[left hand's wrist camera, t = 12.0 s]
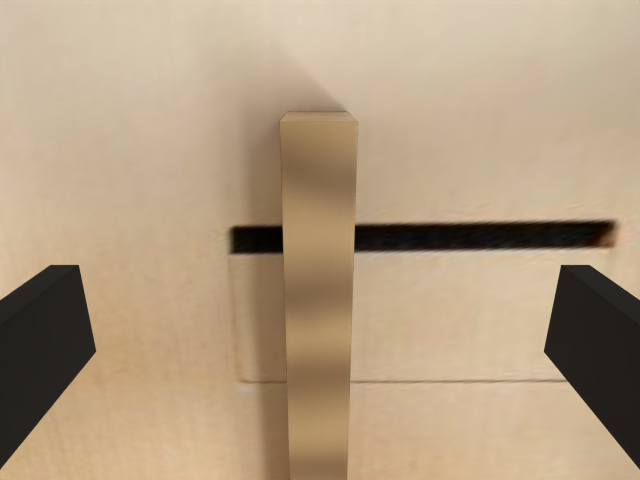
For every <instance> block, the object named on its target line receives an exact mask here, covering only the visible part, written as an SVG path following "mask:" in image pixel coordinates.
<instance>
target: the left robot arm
mask: <svg viewBox="0 0 640 480" xmlns="http://www.w3.org/2000/svg"><path fill="white" fill-rule="evenodd" d="M95 352H96V348H95V343H94V338H93V333H92V328H91V323H90V318H89V313H88V308H87V304H86V299H85V294H84V289H83V284H82V279H81V274H80V269H79V265H50V266H48V267H47V268H46V269H44V270H43V271H41V272H40V273H38V274H37V275H36V276H34V277H33V278H31V279H30V280H28V281H27V282H26V283H24V284H23V285H21V286H20V287H18V288H17V289H16V290H14V291H13V292H11V293H10V294H9V295H7V296H6V297H4V298H3V299H1V300H0V469H1V468H2V467H3V465H4V464H5V463H6V462H7V461H8V459H9V458H10V457H11V456H12V454H13V453H14V452H15V451H16V449H17V448H18V447H19V446H20V445H21V443H22V442H23V441H24V440H25V438H26V437H27V436H28V435H29V434H30V432H31V431H32V430H33V429H34V427H35V426H36V425H37V424H38V422H39V421H40V420H41V419H42V418H43V416H44V415H45V414H46V413H47V411H48V410H49V409H50V408H51V406H52V405H53V404H54V403H55V402H56V400H57V399H58V398H59V397H60V395H61V394H62V393H63V392H64V390H65V389H66V388H67V387H68V386H69V384H70V383H71V382H72V381H73V379H74V378H75V377H76V376H77V374H78V373H79V372H80V371H81V370H82V368H83V367H84V366H85V365H86V363H87V362H88V361H89V360H90V359H91V357H92V356H93V355H94V354H95ZM544 352H545V354H546V355H547V356H548V357H549V359H550V360H551V361H552V362H553V363H554V365H555V366H556V367H557V368H558V370H559V371H560V372H561V373H562V374H563V376H564V377H565V378H566V379H567V381H568V382H569V383H570V384H571V386H572V387H573V388H574V389H575V390H576V392H577V393H578V394H579V395H580V397H581V398H582V399H583V400H584V402H585V403H586V404H587V405H588V406H589V408H590V409H591V410H592V411H593V413H594V414H595V415H596V416H597V418H598V419H599V420H600V421H601V422H602V424H603V425H604V426H605V427H606V429H607V430H608V431H609V432H610V434H611V435H612V436H613V437H614V438H615V440H616V441H617V442H618V443H619V445H620V446H621V447H622V448H623V449H624V451H625V452H626V453H627V454H628V456H629V457H630V458H631V459H632V461H633V462H634V463H635V464H636V465H637V467H638V468H639V469H640V300H639V299H637V298H636V297H634V296H633V295H631V294H630V293H629V292H627V291H626V290H624V289H623V288H622V287H620V286H619V285H617V284H616V283H614V282H613V281H612V280H610V279H609V278H607V277H606V276H604V275H603V274H602V273H600V272H599V271H597V270H596V269H594V268H593V267H592V266H590V265H561V269H560V274H559V279H558V284H557V289H556V294H555V299H554V304H553V308H552V313H551V318H550V323H549V328H548V333H547V338H546V343H545V348H544Z"/></svg>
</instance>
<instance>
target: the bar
mask: <svg viewBox="0 0 640 480" xmlns="http://www.w3.org/2000/svg"><path fill="white" fill-rule="evenodd" d="M357 131H358V121H357V120H356V119H355V118H354V117H353V116H352V115H351V114H350V113H349V112H287V113H286V114H285V116H284V117H283V118H282V119H281V121H280V146H281V182H282V218H283V254H284V290H285V327H286V363H287V399H288V435H289V471H290V480H347V462H348V429H349V396H350V363H351V330H352V297H353V264H354V231H355V197H356V164H357Z"/></svg>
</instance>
